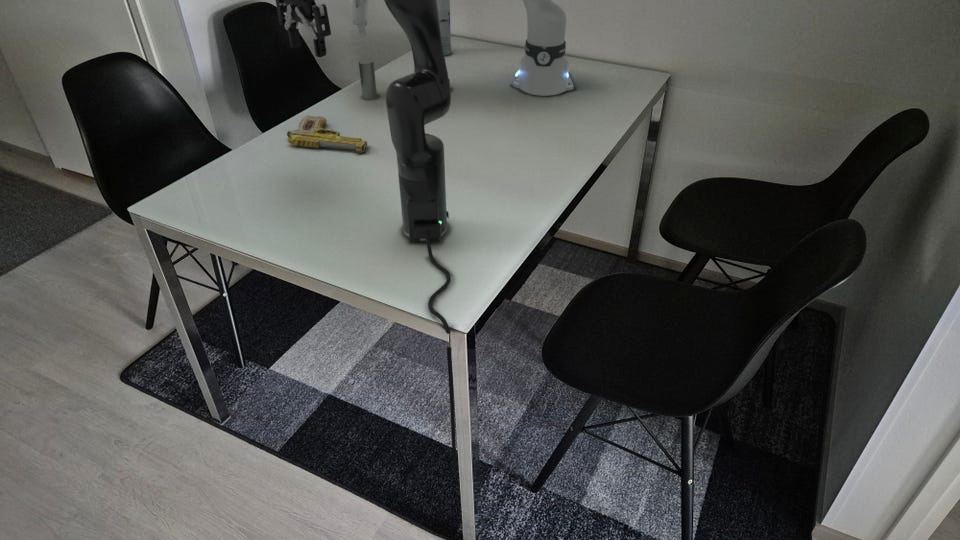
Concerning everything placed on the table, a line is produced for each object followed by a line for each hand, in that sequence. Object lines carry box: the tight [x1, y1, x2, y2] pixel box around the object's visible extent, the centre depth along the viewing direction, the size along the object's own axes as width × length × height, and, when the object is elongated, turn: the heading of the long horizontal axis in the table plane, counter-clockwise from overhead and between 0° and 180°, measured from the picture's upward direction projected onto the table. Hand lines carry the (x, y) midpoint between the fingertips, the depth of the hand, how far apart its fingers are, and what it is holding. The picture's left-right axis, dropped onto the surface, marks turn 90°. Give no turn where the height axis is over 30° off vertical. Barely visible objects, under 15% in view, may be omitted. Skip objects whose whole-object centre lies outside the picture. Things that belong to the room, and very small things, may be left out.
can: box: [358, 58, 378, 100], centre depth 185 cm, size 4×4×11 cm
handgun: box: [286, 115, 368, 154], centre depth 166 cm, size 2×23×15 cm
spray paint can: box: [437, 0, 452, 57], centre depth 212 cm, size 6×6×20 cm
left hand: (308, 51), depth 132 cm, fingers open, 8 cm apart
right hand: (363, 30), depth 178 cm, fingers open, 8 cm apart
